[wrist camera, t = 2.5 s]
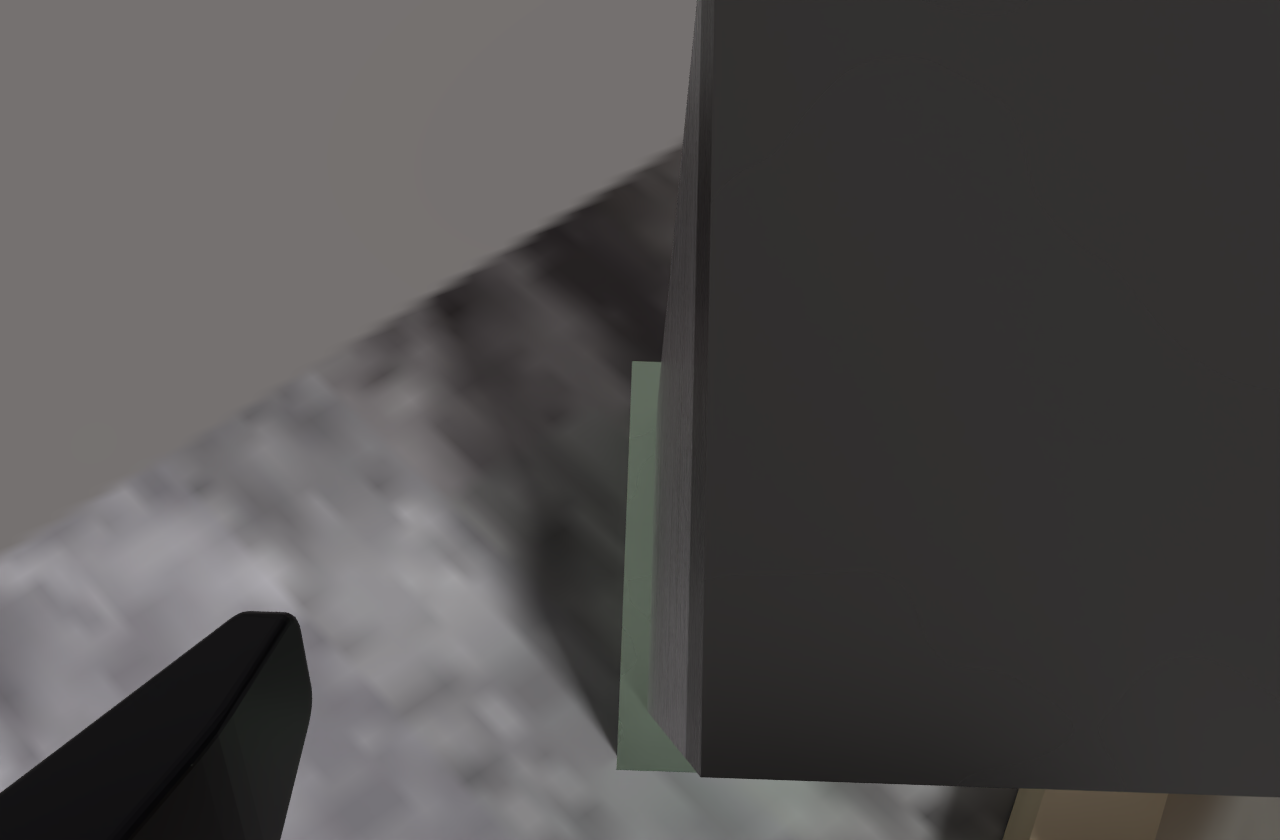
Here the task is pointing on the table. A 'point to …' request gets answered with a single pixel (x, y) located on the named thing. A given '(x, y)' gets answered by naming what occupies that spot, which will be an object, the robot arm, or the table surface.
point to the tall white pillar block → (966, 402)
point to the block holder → (1140, 816)
